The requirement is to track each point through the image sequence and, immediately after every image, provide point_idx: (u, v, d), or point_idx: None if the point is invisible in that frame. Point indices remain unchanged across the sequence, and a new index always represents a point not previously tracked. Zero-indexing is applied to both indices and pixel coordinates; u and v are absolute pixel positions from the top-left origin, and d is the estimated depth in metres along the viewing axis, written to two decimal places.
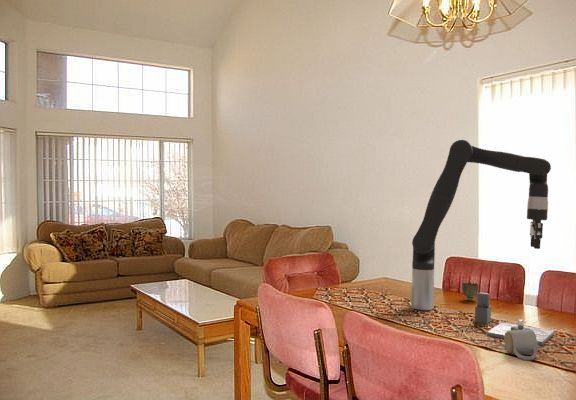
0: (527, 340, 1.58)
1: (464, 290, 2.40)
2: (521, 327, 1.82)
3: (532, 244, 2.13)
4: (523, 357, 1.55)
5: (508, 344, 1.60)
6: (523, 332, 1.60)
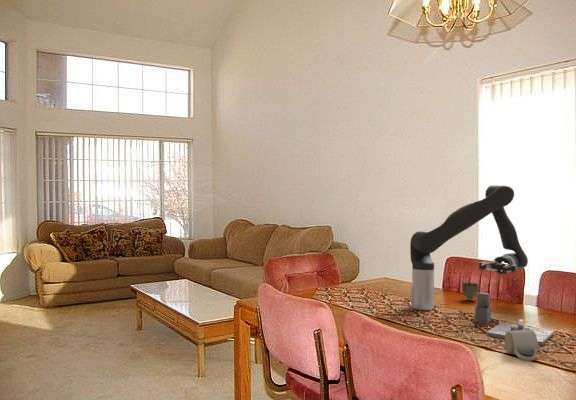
0: (527, 340, 1.57)
1: (464, 290, 2.40)
2: (521, 327, 1.82)
3: (483, 266, 2.13)
4: (523, 357, 1.54)
5: (509, 344, 1.60)
6: (523, 332, 1.59)
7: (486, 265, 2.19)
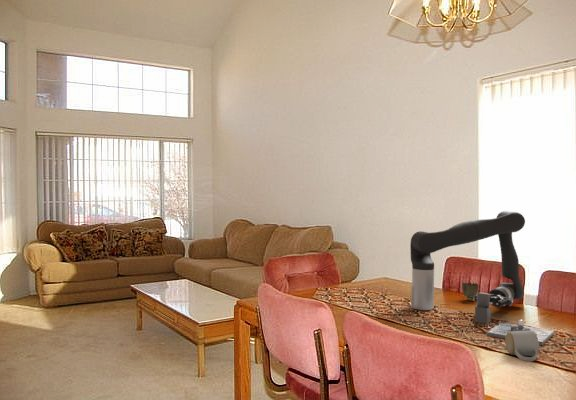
0: (528, 341, 1.57)
1: (464, 290, 2.40)
2: (521, 327, 1.82)
3: None
4: (524, 358, 1.54)
5: (509, 345, 1.59)
6: (524, 333, 1.59)
7: None
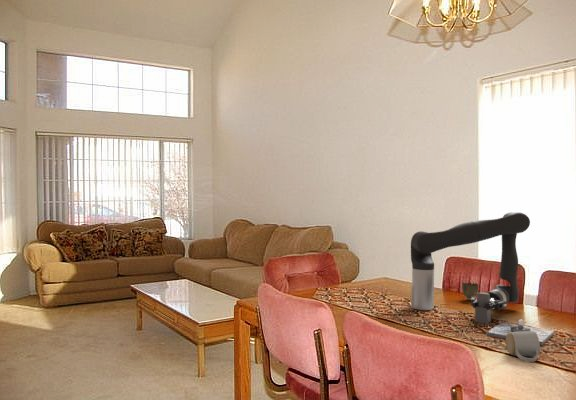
0: (529, 342, 1.56)
1: (464, 290, 2.40)
2: (521, 327, 1.82)
3: (475, 303, 2.01)
4: (525, 359, 1.53)
5: (510, 346, 1.59)
6: (525, 333, 1.58)
7: None
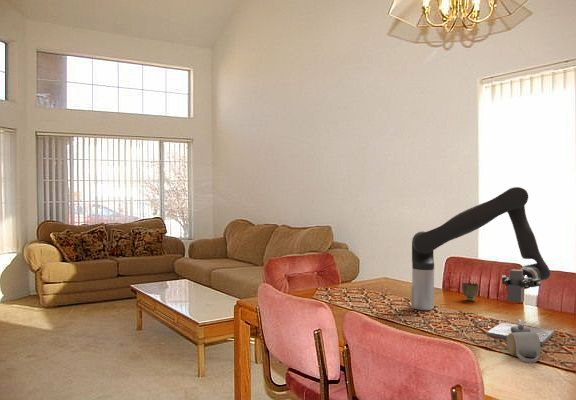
0: (530, 342, 1.55)
1: (464, 290, 2.40)
2: (521, 327, 1.82)
3: (508, 281, 1.86)
4: (526, 360, 1.53)
5: (511, 346, 1.58)
6: (526, 334, 1.57)
7: None
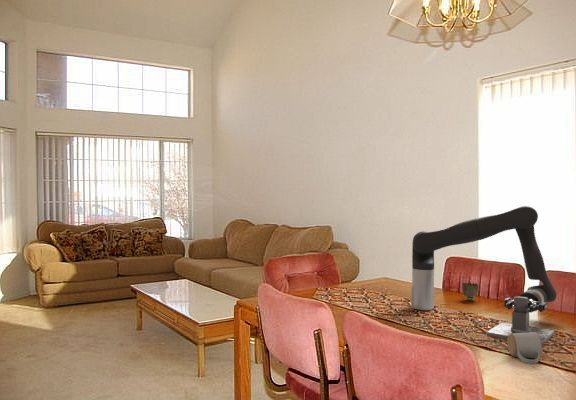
0: (531, 343, 1.55)
1: (464, 290, 2.40)
2: None
3: (510, 304, 1.84)
4: (527, 360, 1.52)
5: (512, 347, 1.57)
6: (527, 335, 1.57)
7: None
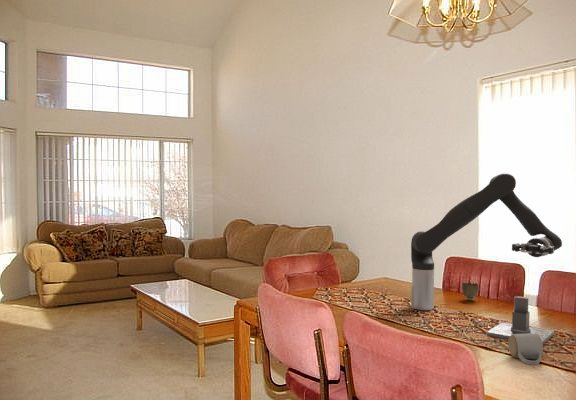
0: (532, 344, 1.54)
1: (464, 290, 2.40)
2: None
3: (517, 247, 1.96)
4: (528, 361, 1.51)
5: (513, 348, 1.56)
6: (528, 336, 1.56)
7: (519, 247, 2.03)
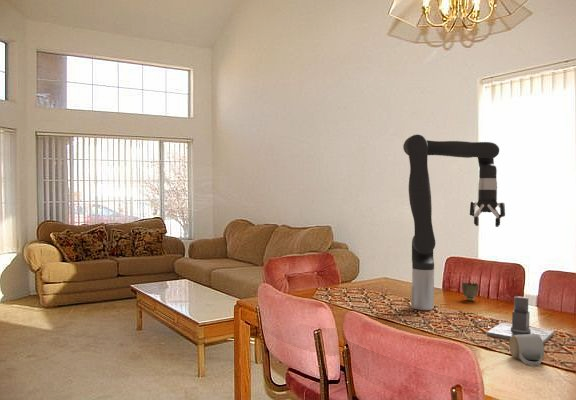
0: (533, 345, 1.53)
1: (464, 290, 2.40)
2: None
3: (477, 223, 2.25)
4: (529, 362, 1.50)
5: (514, 349, 1.55)
6: (529, 336, 1.55)
7: (475, 206, 2.26)
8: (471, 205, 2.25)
